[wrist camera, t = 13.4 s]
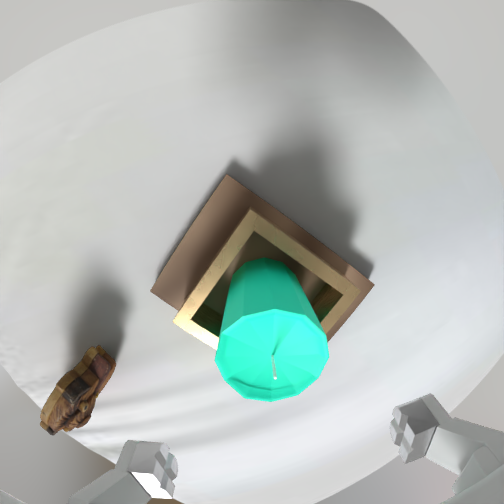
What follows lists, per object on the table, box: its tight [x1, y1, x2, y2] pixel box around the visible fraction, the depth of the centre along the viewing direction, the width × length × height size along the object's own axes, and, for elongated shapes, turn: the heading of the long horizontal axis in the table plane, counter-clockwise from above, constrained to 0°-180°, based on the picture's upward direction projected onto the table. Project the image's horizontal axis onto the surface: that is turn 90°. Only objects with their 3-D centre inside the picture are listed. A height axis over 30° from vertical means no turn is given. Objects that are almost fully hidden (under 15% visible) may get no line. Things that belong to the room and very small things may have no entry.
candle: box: [215, 257, 329, 402], centre depth 18 cm, size 6×6×12 cm
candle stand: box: [150, 174, 375, 350], centre depth 23 cm, size 16×12×6 cm
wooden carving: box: [40, 345, 116, 435], centre depth 23 cm, size 16×5×10 cm, turn 145°
